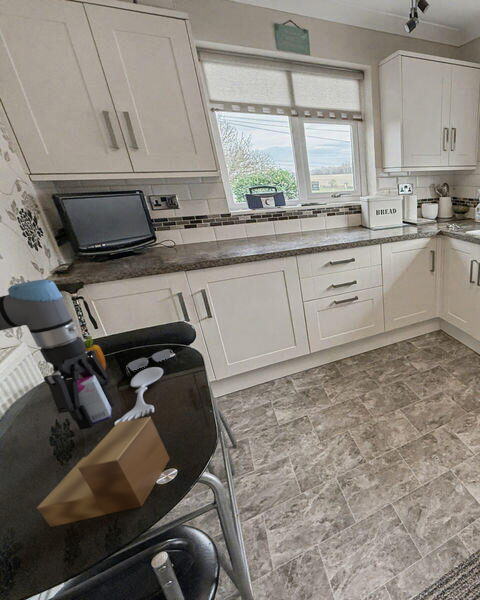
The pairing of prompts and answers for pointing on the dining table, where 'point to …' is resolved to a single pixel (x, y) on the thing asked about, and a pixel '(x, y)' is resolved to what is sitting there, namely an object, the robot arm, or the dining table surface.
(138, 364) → the eyeglasses
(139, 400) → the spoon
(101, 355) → the carrot
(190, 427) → the dining table surface
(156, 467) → the wooden stepped block
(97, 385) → the supplement box
